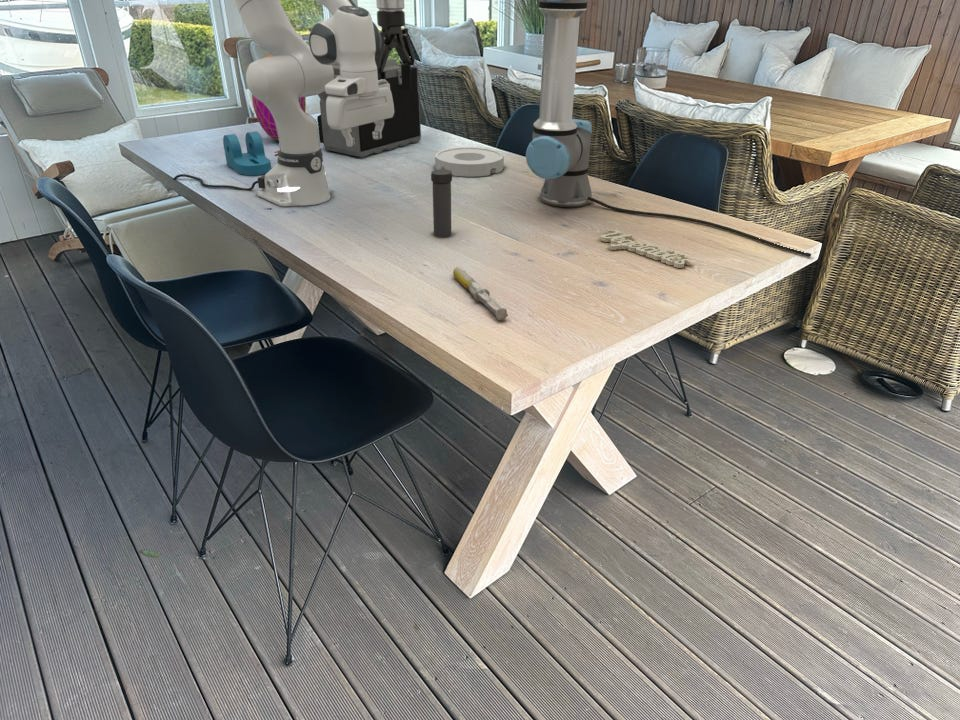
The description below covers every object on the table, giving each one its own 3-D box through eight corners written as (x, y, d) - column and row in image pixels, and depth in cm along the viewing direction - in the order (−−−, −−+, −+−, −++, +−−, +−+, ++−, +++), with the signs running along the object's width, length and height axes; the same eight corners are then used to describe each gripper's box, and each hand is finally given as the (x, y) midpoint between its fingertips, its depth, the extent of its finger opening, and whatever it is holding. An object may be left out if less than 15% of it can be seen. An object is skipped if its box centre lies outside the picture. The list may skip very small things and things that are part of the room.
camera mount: (227, 164, 233) (221, 132, 227) (257, 160, 238) (252, 129, 233) (244, 176, 220) (239, 143, 215) (276, 172, 225) (271, 139, 220)
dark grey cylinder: (447, 230, 180) (446, 170, 172) (454, 236, 176) (453, 175, 168) (431, 232, 178) (429, 172, 170) (437, 238, 175) (436, 177, 167)
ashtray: (438, 158, 243) (438, 146, 241) (503, 159, 243) (503, 147, 241) (432, 176, 223) (431, 163, 221) (503, 177, 223) (503, 165, 221)
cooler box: (383, 133, 276) (378, 52, 261) (425, 141, 265) (422, 56, 250) (314, 150, 251) (304, 61, 235) (358, 160, 240) (350, 67, 224)
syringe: (449, 274, 155) (449, 263, 153) (465, 272, 156) (464, 260, 154) (490, 323, 135) (491, 310, 133) (508, 319, 136) (508, 307, 134)
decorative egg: (293, 132, 276) (283, 50, 261) (319, 140, 264) (310, 56, 249) (249, 139, 265) (236, 54, 250) (273, 148, 253) (261, 60, 238)
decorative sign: (586, 237, 174) (611, 228, 179) (586, 240, 174) (611, 231, 180) (674, 268, 157) (698, 257, 162) (673, 272, 157) (698, 261, 163)
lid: (447, 176, 173) (447, 168, 172) (455, 182, 169) (455, 173, 168) (428, 179, 171) (428, 170, 170) (435, 184, 167) (435, 175, 166)
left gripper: (379, 76, 172) (383, 133, 179) (319, 87, 158) (325, 148, 165) (398, 78, 169) (401, 136, 176) (338, 89, 155) (344, 152, 162)
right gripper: (402, 7, 197) (405, 85, 208) (352, 12, 178) (359, 98, 188) (425, 8, 194) (427, 87, 205) (377, 13, 175) (382, 101, 186)
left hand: (364, 142), depth 170 cm, fingers open, 8 cm apart
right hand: (394, 93), depth 197 cm, fingers open, 13 cm apart
